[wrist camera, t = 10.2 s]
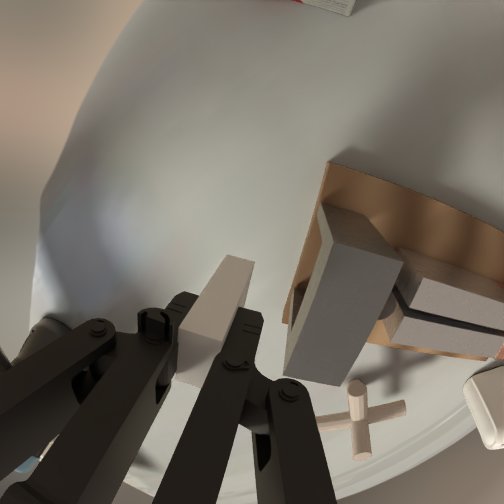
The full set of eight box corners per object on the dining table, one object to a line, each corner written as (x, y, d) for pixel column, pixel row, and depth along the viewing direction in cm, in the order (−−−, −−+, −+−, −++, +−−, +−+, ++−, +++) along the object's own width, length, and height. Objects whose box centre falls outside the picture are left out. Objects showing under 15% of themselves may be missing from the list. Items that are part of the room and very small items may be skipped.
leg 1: (387, 271, 21) (408, 308, 16) (397, 245, 20) (424, 277, 15) (504, 307, 20) (531, 337, 15) (514, 288, 19) (543, 316, 14)
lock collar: (290, 297, 23) (282, 375, 15) (320, 201, 20) (333, 241, 12) (330, 307, 23) (339, 386, 15) (364, 214, 20) (403, 262, 12)
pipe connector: (396, 344, 26) (420, 417, 17) (393, 400, 29) (407, 464, 20) (305, 362, 28) (301, 440, 19) (317, 415, 31) (315, 480, 22)
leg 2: (374, 301, 22) (390, 343, 17) (384, 277, 21) (405, 316, 16) (492, 328, 21) (516, 360, 16) (502, 310, 20) (528, 341, 15)
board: (283, 310, 27) (275, 369, 19) (327, 161, 21) (342, 169, 14) (479, 351, 25) (505, 394, 17) (531, 248, 19) (573, 278, 12)
